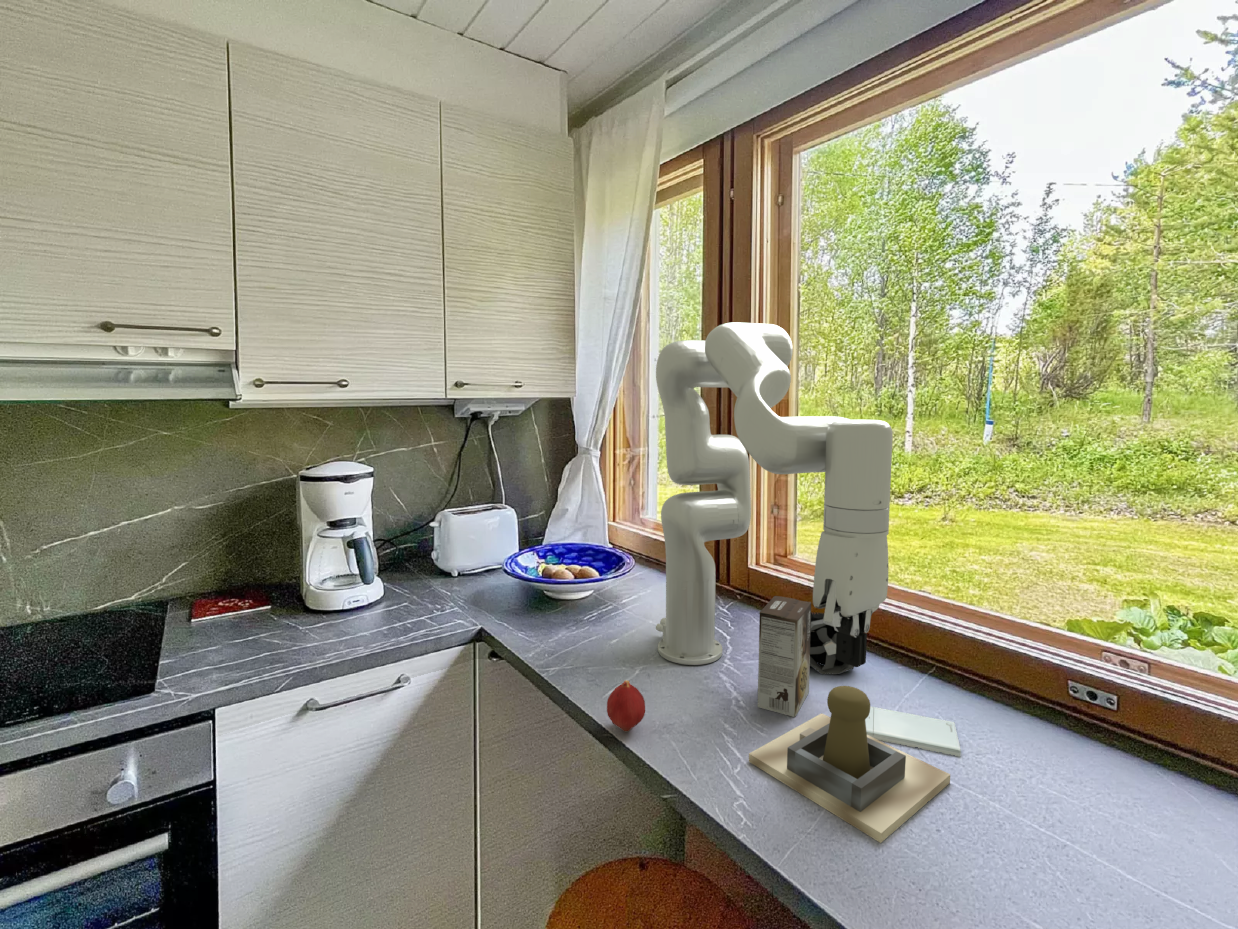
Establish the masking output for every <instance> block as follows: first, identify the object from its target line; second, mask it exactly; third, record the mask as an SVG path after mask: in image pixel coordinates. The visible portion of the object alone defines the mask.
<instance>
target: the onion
mask: <svg viewBox="0 0 1238 929" xmlns="http://www.w3.org/2000/svg"><path fill="white" fill-rule="evenodd" d="M606 712H607V717H608V718H609V719H610V721H611V723H612V724H613V725H614V726H616V727H618V728H619V729H620V730H622V731H623V732H627V733H628V732H629V731H631V730H632V729H633V728H635V727H636V726H637V725H638V724H640V722H642V720H643V719H644V717H645V713H646V702H645V698H644V696H643V694H642V692H640V690H639V689H638V687H636V686H634V685H633V684H631V683H630V680H626V679H625V680H623V682H622V683H621V684H620V685H618V686H617V687H615V688H614V689H613V690H612V692H611V693H610V695H609V696H608V698H607V701H606Z"/></svg>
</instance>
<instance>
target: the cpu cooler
mask: <svg viewBox="0 0 1238 929" xmlns="http://www.w3.org/2000/svg"><path fill="white" fill-rule="evenodd" d="M824 613H825V612H819V611H818V612H816V611H815V612H814V611H811V631H810V666H809V667H811V668H813V669H814V670H815V671H816V672H818V673H819V674H820V675H840V674H844V673H845V672H847V671H850V670H853V669H854V668H855V667H854V666H852V665H849V664H846V663H844V662H841V661H838V660H837V659H836V637H837V631H835V630H834V627H833V626H830V625H827V624H824V622H823V619H824ZM843 617H844V616H843Z"/></svg>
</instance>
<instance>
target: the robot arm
mask: <svg viewBox="0 0 1238 929" xmlns="http://www.w3.org/2000/svg"><path fill="white" fill-rule="evenodd" d="M793 348H794V347H793V343H792V339H791V337H790V335H789V334H788V333H787V331H786V330H785V329H784V328H782V326H781V327H780V326H779V325H777V324H773V323H756V322H742V321H741V322H740V321H739V322H738V321H736V322H727V323H722V324H719V325H718V326H716V327H714V328H713V329H711V331H710V332H709V333H708V334H707V336H706V338H705V340H703V339H701V340H700V339H687V340H678V341H677V340H676V341H673V342H671V343H668V344H666V345H665V346H664V347H663V348H662V349H661V350H660V352H659V354H658V357H657V361H656V365H655V366H656V367H655V381H656V387H657V390H658V395H659V396H660V397H659V398H660V401H661V404H662V408H663V409H662V410H663V412H664V414H663V416H664V430H665V431H664V434H665V435H664V436H665V452H666V453H665V454H666V455H665V456H666V468H667V473H668V477H669V478H670V480H671V481H672V482H673V483H675V484H677V485H682V486H695V485H697V486H699V485H712V484H713V485H714V484H715V485H716V486H717V490H708V491H707V490H706V491H705V490H704V491H690V492H681V493H677V494H674V495H672V496H670V497H668V498H667V499H666V500H665V501H664V502H663V503H662V507H661V510H660V511H661V512H660V515H661V516H660V520H661V526H662V532H663V537H664V538H663V539H664V547H665V617H662V618H661V619H660V621H659V623H657V624H656V625H655V629H656V631H658V632H660V633H662V639H661V640H660V641H659V642H658V643H657V652H658V654H659V655H660V656H661V658H664V659H665V660H667V661H669V662H672V663H675V664H679V665H687V666H688V665H689V666H701V665H706V664H710V663H715V661H718V660H719V659H720V658H721V657H722V656H723V651H724V650H723V645H722V644H721V643H720V642H719V641H718V640H716V637H715V632H716V630H715V626H716V625H715V624H716V623H715V622H716V563H715V559H714V558H713V556H712V554H711V553H710V552H709V551H708V549H707V548H706V546H705V543H706V542H710V541H717V540H718V541H719V540H729V539H735V538H739V537H741V536H743V535H745V534H746V533H747V531H748V530H749V529H750V528H749V527H750V525H751V517H752V505H751V504H752V503H751V502H752V501H751V477H750V476H751V475H750V474H751V473H750V459H749V455H750V457H751V458H752V459H753V460H754V462H756V464H757V465H759V466H760V468H762V469H763V470H765V471H767V472H769V473H772V474H775V475H792V474H794V475H795V474H796V475H797V474H810V473H815V474H816V473H824V492H823V494H824V496H823V497H824V500H823V501H824V502H823V527H822V529H823V531H821V533H820V536H819V540H818V546H817V551H816V557H815V564H814V565H815V566H814V577H813V587H812V588H813V589H812V605H813V607H814V608H816V609H819V610H822V609H824V612H823V613H824V619H823V622H824V624H827V625H830V626H833V627H834V630H835V631H837V637H836V659H837V660H838V661H841V662H844V663H846V664H849V665H852V666H854V668H859V667H861V666H863V665H865V664H866V662H867V641H868V634H867V633H869V631H870V626H871V619H872V615H873V613H874V612H876V611H877V610H878V609H879V608H880V605H882V604H883V603H884V602H885V601H886V599H887V597H888V596H887V595H888V587H889V545H888V544H889V543H888V536H889V534H890V533H889V529H890V526H889V525H890V510H891V508H890V503H891V483H892V481H891V480H892V460H893V459H892V458H893V428H892V426H891V425H890V424H889V423H888V422H886V421H884V420H880V419H863V418H862V419H861V418H859V419H857V418H856V419H852V418H848V417H847V418H846V417H843V416H837V415H836V416H834V415H833V416H832V415H830V416H829V415H823V416H822V415H821V416H820V415H819V416H817V415H816V416H815V415H812V416H809V415H808V416H807V415H806V416H805V415H804V416H803V415H801V416H779V415H778V414H777V413H776V412H774V411H773V410H772V409H771V408H773V407H775V406H777V405H778V404H779V403H780V402H781V401H782V400H783V399H784V398H785V396H786V395H787V392H789V389H790V386H791V382H792V377H791V376H792V374H791V371H790V369H789V368H788V366H789V365H790V364H791V361H792V359H793V357H792V356H793V354H794V353H793V352H794V351H793V350H794V349H793ZM695 388H729V389H730V391H731V392H732V393H733V394H734V395H735V397H736V401H735V405H734V409H733V413H734V414H733V420H734V427H735V431H736V432H735V433H736V435H737V436H735V435H731V434H712V433H711V432H712V431H711V426H710V425H711V424H710V422H711V420H710V411H709V408H708V406H707V404H706V403H705V400H704V398H702V396H701V395H700V394H699V393H698V391H697V390H695ZM748 454H749V455H748ZM843 616H844V617H843Z"/></svg>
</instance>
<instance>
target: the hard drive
mask: <svg viewBox="0 0 1238 929" xmlns="http://www.w3.org/2000/svg"><path fill="white" fill-rule="evenodd" d="M865 722H866V732H867V735H869V736H871V737H873V738H875V739H877V740H879V741H881V742H887V743H892V744H897V745H900V744H901V746H905V745H907V746H906V747H912V748H915V747H918V748H917V749H920V748H922V749H921V750H926V751H929V750H930V752H934V751H936V752H935V753H939V752H942V753H941V754H944V755H949V754H951V755H950V756H953V755H955V757H957V758H961V753H962V751H961V744H960V741H959V737H958V732H957V728H956V724H955V722H954V721H952V720H951V721H950V720H944V719H939V718H934V717H928V716H924V715H920V714H919V715H918V714H913V713H908V712H904V711H903V712H902V711H897V710H892V709H885V708H880V707H876V706H871V705H870V713H869V716H868V717H867V718H866V719H865Z"/></svg>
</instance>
